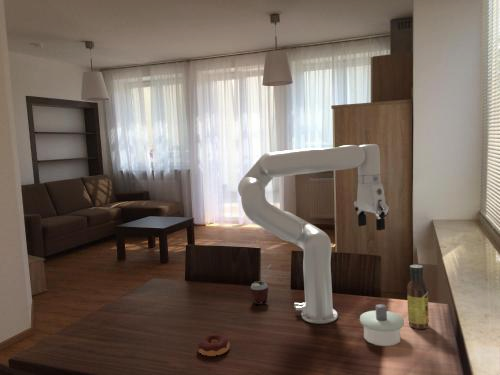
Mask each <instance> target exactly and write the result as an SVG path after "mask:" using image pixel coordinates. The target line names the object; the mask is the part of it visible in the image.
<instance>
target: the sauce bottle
mask: <svg viewBox="0 0 500 375" xmlns="http://www.w3.org/2000/svg"><path fill="white" fill-rule="evenodd" d="M409 271H410V281H409V282H408V283H407V286H406V287H407V288H406V289H407V293H406V295H407V298H406V299H407V317H408V318H407V319H408V325H409V326H410V327H411V328H414V329H417V330H424V329H427V328H428V327H429V321H430V314H429V313H430V312H429V290H428V287H427V286H426V284H425V280H424V266H423V265H420V264H411V265H409Z"/></svg>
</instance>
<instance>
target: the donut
mask: <svg viewBox="0 0 500 375" xmlns="http://www.w3.org/2000/svg"><path fill="white" fill-rule="evenodd" d="M230 342H231V340H230V338H229V337H228V336H227V334H224V333H222V334H221V333H214V334H207V335H204V336H203V337H202V338H201V339H199V341H198V344H197V351H198V353H199V354H200V353H201V355H203V356H206V355H207V356H206V357H217V356H216V355H218V356H221V355H223V354H225V353H227V352H228V350H229V349H230Z"/></svg>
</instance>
